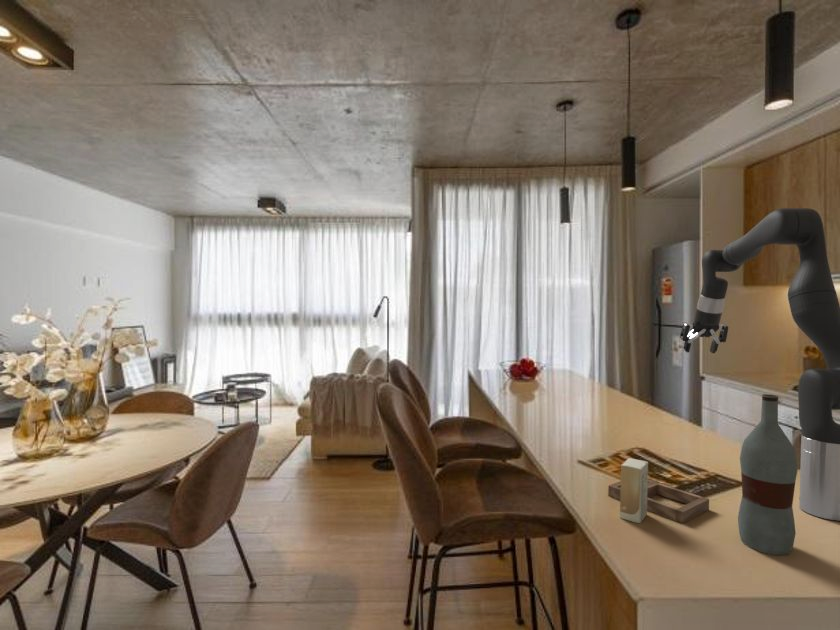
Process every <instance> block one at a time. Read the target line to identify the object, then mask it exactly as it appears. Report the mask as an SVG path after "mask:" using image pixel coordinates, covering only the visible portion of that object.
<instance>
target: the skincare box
mask: <svg viewBox="0 0 840 630" xmlns="http://www.w3.org/2000/svg"><path fill="white" fill-rule="evenodd" d="M648 478H649V462H648V461H646V460H640V459H637V458H636V459H635V458H629V457H628V458H627V459H626V460H625V461H623V462H622V463H621V465H620V481H621V495H620V500H619V503H620V505H619V518H620V519H623V520H626V521H629V522H633V523H636V524H641V522H642V521H643V520H644V519H645V517H646V516H647V514H648V510H647V486H648V480H649V479H648Z"/></svg>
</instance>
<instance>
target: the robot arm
mask: <svg viewBox="0 0 840 630" xmlns="http://www.w3.org/2000/svg"><path fill="white" fill-rule="evenodd" d="M774 244H775V245H776V244H777V245H782V246H783V245H785V246H786V245H787V246H788V245H793V246H796V247H797V248H798V254H799V261H800V262H799V266H798V270H797V271H796V272H795V275H794V277H793V279H792V281H791V283H790V285H789V288H788V290H787V291H788V292H787V300H788V304H789V309H790V313H791V317H792V319H793V321H794V323H795V324H796V326H797V327H798V328H799V329H800V330H801V332H803V333H804V335H805V336H807V338H808V339H810V341H811V342H812V343H813V344H814V345H815V347H817V348H818V350H819V352H820V353H821V355H822V357H823V360H824V363H825V365H826V368H824V369H823V368H811V369H809V368H808V369H807V370H805V371H804V372H802V374H801V375H800V378H799V380H798V386H797V387H798V388H797V394H798V401H797V402H798V420H799V425H800V427H801V439H800V440H801V445H800V469H799V471H800V472H799V474H800V475H799V496H798V497H799V498H798V499H799V502H798V503H799V504H798V506H799V507H798V508H799V509H800V510H802V511H804V512H805V513H807V514H809V515H812V516H815V517H817V518H818V517H819V518H822V519H826V520H831V521H839V522H840V423H837V422H836V421H835V420H834V418H833V411H834V410H836V411H840V302H839V298H838V297H839V296H838V294H837V291H836V287H835V284H834V281H833V278H832V273H831V269H830V264H829V258H828V253H827V246H826V237H825V229H824V223H823V220H822V218H821V215H820V213H819V212H818V211H817V210H815V209H813V208H806V207H805V208H803V207H802V208H800V207H796V208H794V207H793V208H792V207H784V208H779V209H775V210H773V211H771V212H770V213H768V214H767V215H766V216H765V217H764V218H762V220H760V221H759V222H758V223H757V224H756V225H754V227H752V228H751V229H750V230H749V231H748V232H747V233H746V234H745V235H743V236H741V237H739V238H738V239H736V240H733V241H732V242H730V243H728V244H727V245H726V246H725V247H724V248H723V249H710V250H707V251H706V252H705V253H704V254H703V256H702V258H701V267H702V281H703V282H702V286H701V291H700V296H699V297H698V301H697V303H696V310H695V314H694V318H693V320H694V321H693V323H692V324H691V323H687V322H684V323H683V324H682V328H681V331H680V335H679V338H680V340H682V342H684V343H683V346H682V347H683V350H684V351H685V353H690V351H691V346H692V342H693V341H694V340H696V339H698V338H704V337H705V338H711V339H712V341H711V342H710V343H711V345H710V347H709V352H710V353H711V354H715V353H716V352H717V351H718V348H719V344H721V343H726V342H727V339H728V338H727V337H728V333H729V332H728V331H729V326H728V325H727V324H725V323H722V324H720V323H721V319H722V316H723V311H724V308H725V307H724V306H725V301H726V300H725V299H726V296H727V295H726V294H727V291H728V286H729V282H728V280H726V279H725V278H722V277H719V276H717V275H716V273H718V272H719V273H721V272H722V273H730V272H735V271H737V270H739V269H740V267H742V265H743V264H744V263H746V262H748V261H750V260H753V259H755V258H757V257H758V256H759V255H760V254H761V252H762V251H763V249H764V246H769V245H774ZM691 329H692V330H691ZM718 330H719V335H717V333H716V332H717V331H718Z"/></svg>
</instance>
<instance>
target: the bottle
mask: <svg viewBox="0 0 840 630" xmlns="http://www.w3.org/2000/svg"><path fill="white" fill-rule="evenodd" d="M779 398H780V397H779V395H775V394H771V393H770V394H769V393H766V394H765V393H762V395H761V409H760V411H761V412H760V414H761V415H760V421H759V423H758V424H756V426H755V427H754V428H753V429H752V431H750V432H749V434H748V435H747V436H746V437H745V438H744V439H743V441H742V445H741V449H740V455H739V461H740V462H739V463H740V473H741V492H742V493H741V494H742V496H741V500H740V505H739V508H738V509H739V510H738V515H737V523H738V524H737V525H738V531H739V532H738V533H739V537H740V540H741V542H742V543H743V544H744V545H746V546H747V547H748V548H750V549H753V550H755V551H758V552H760V553H764V554H766V555H767V554H769V555H773V556H787V555H789V554H790V553H791V552H792V550H793V547H794V544H795V539H796V533H797V532H796V524H795V516H794V510H793V502H794V497H795V496H794V495H795V488H796V487H795V486H796V482H797V481H796V480H797V475H798V470H799V467H798V457H797V452H796V450H795V447H794V445H793V444H792V442H791V441H790V439H789V437H787V435H786V433H785V432H784V430H783V429H782V427H781V426H780V424H779V421H778V420H779Z"/></svg>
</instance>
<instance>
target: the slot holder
mask: <svg viewBox="0 0 840 630" xmlns="http://www.w3.org/2000/svg"><path fill="white" fill-rule="evenodd" d="M607 487H608V490H607V492H608V493H607V494H608V495H607V496H608V497H610V498H614V499H616V500H619V501H620V495H621V480H620V481H618V482H615V483H612V484H609V485H608V486H607ZM657 495H659V496H662V497H663V498H664V497H665V498H667V499H671V500H673V501H676V502H679V503H682V504H685V505H682V506H680V507H679V508H678V507H676V506H673V505H670V504H667V503H666V502H665V503H664V502H662V501H659V500H656V499H653V498H652V497H655V496H657ZM709 509H710V499H709V498H708V497H704V496H701V495H698V494H694V493H692V492H689V491H686V490H684V489H683V490H682V489H679V488H676V487H673V486H669V485H667V484H663V483H660V482H658V481H654V480H651V479H648V486H647V512H651V513H654V514H656V515H660V516H662V517H664V518H667V519H671V520H673V521H674V522H678V523H681V524H685V523H686V522H688V521H690V520H692V519H693V518H696V517H697V516H700V515H701V514H703V513H705V512H707V511H709Z"/></svg>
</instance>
